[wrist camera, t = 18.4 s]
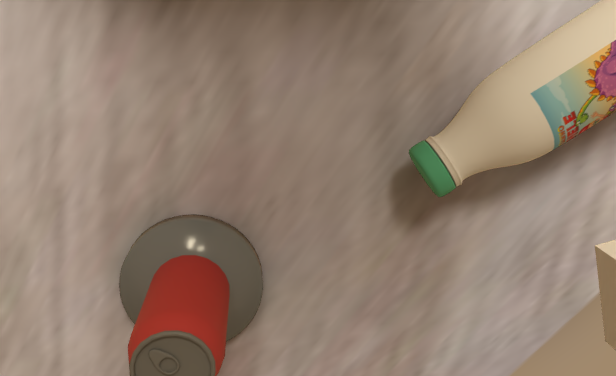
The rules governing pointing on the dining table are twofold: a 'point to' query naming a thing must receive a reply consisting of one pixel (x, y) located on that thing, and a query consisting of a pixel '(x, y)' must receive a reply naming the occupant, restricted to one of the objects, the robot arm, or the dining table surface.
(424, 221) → the dining table surface
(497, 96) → the milk bottle
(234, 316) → the pad
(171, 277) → the beer can
